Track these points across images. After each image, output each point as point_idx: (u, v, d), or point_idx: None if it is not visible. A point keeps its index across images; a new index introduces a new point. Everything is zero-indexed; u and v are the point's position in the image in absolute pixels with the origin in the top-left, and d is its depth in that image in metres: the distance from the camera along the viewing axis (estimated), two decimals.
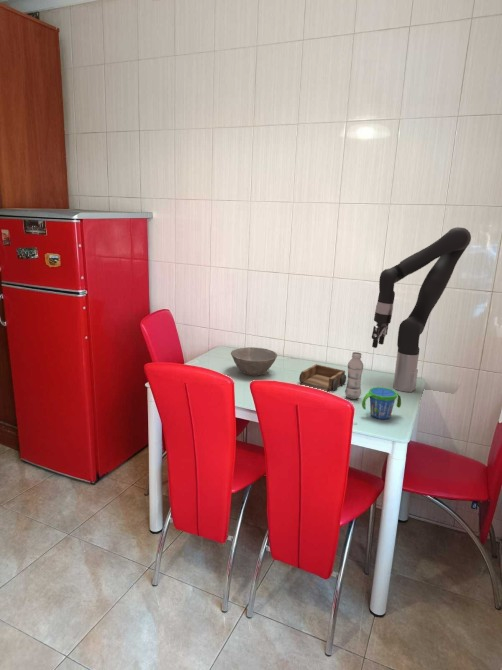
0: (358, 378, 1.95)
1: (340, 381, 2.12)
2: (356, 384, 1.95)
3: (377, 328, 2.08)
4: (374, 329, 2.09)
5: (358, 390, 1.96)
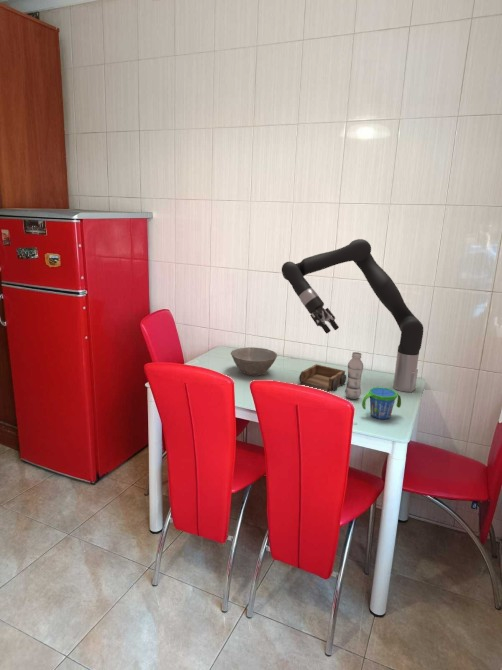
0: (358, 378, 1.95)
1: (340, 381, 2.12)
2: (356, 384, 1.95)
3: (313, 313, 1.95)
4: (312, 317, 1.95)
5: (358, 390, 1.96)
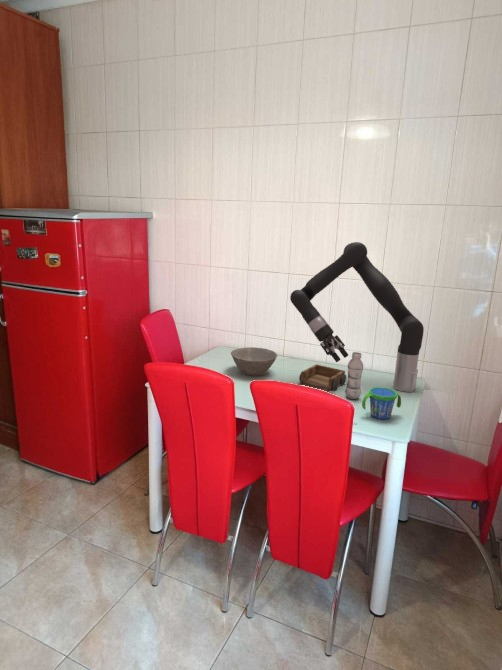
0: (358, 378, 1.95)
1: (340, 381, 2.12)
2: (356, 384, 1.95)
3: (323, 342, 1.95)
4: (322, 346, 1.95)
5: (358, 390, 1.96)
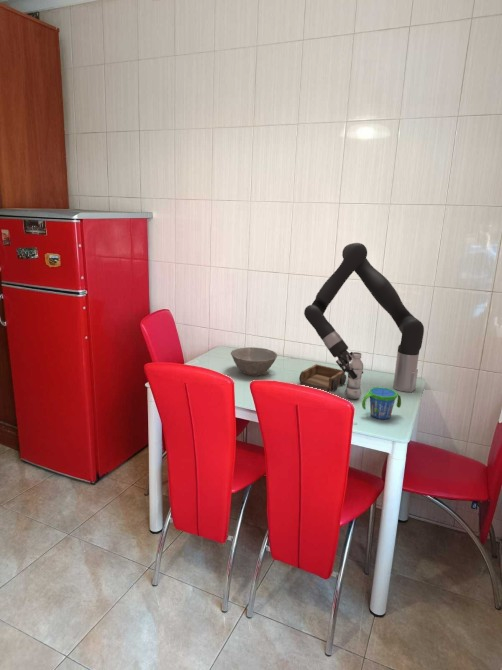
0: (358, 378, 1.95)
1: (340, 381, 2.12)
2: (356, 384, 1.95)
3: (339, 360, 1.92)
4: (338, 363, 1.93)
5: (358, 390, 1.96)
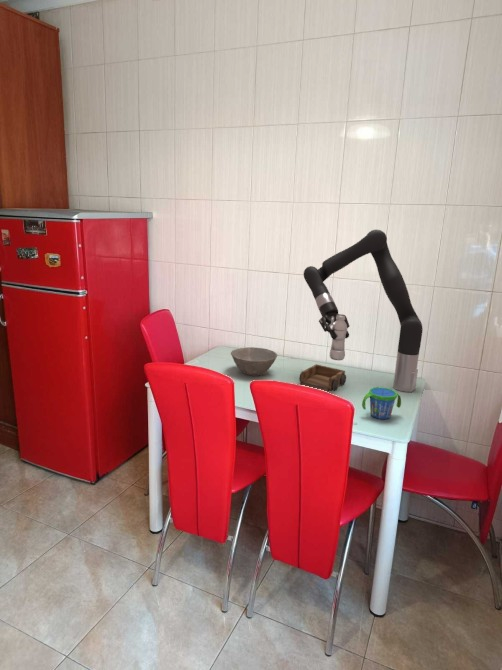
0: (339, 339, 1.97)
1: (340, 381, 2.12)
2: (337, 345, 1.98)
3: (321, 319, 1.99)
4: (320, 322, 1.99)
5: (339, 352, 1.98)
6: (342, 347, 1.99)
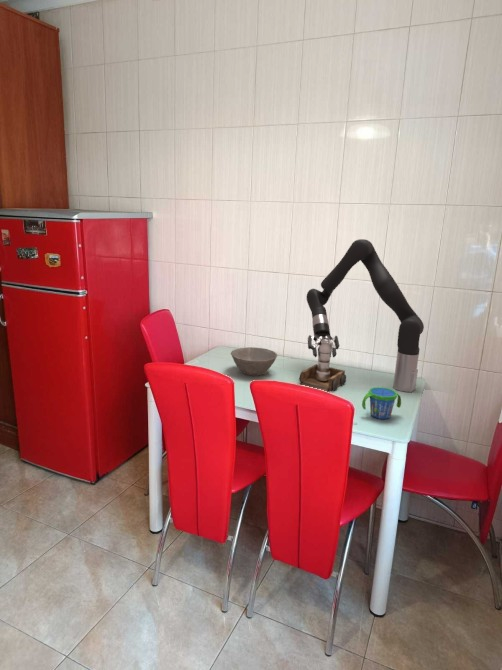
0: (322, 361, 2.10)
1: (340, 381, 2.12)
2: (320, 367, 2.11)
3: (308, 337, 2.14)
4: None
5: (322, 373, 2.11)
6: (325, 369, 2.11)
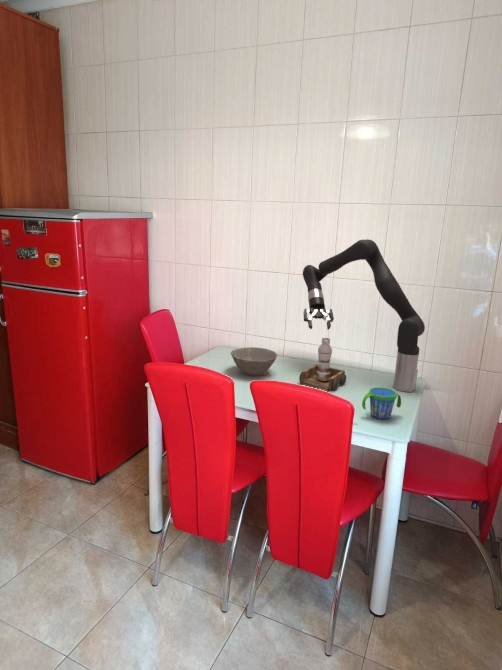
0: (322, 361, 2.10)
1: (340, 381, 2.12)
2: (320, 367, 2.11)
3: (304, 310, 2.24)
4: None
5: (322, 373, 2.11)
6: (325, 369, 2.11)
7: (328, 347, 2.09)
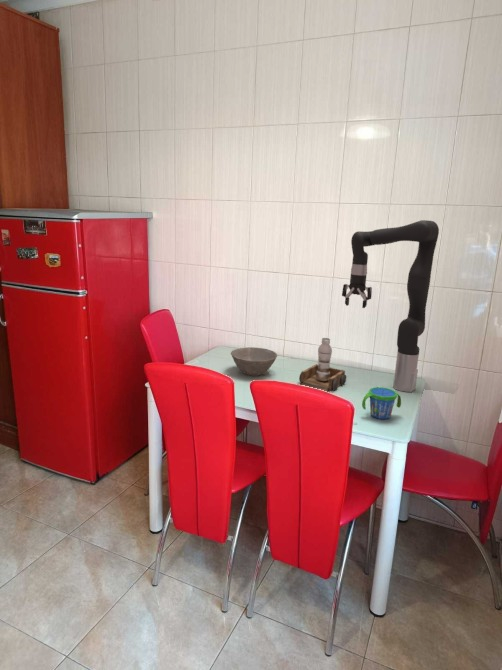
0: (322, 362, 2.10)
1: (340, 381, 2.12)
2: (320, 367, 2.11)
3: None
4: None
5: (322, 373, 2.11)
6: (325, 369, 2.11)
7: (328, 347, 2.09)
